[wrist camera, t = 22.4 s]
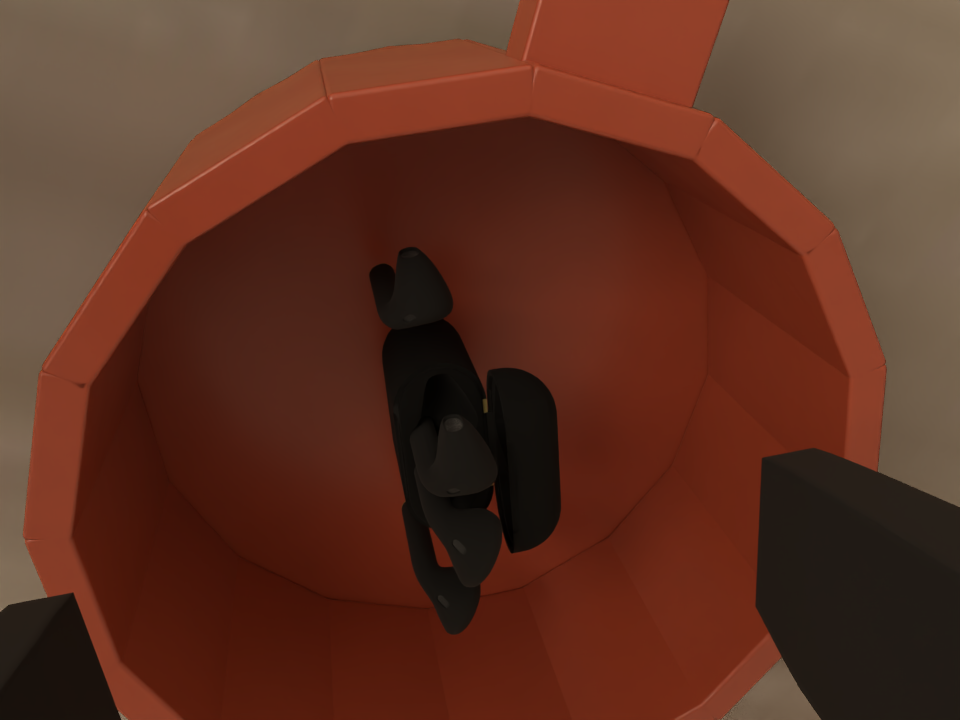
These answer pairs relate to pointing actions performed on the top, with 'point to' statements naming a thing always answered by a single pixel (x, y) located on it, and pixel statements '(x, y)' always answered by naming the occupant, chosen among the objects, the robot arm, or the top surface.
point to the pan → (491, 345)
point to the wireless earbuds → (461, 442)
